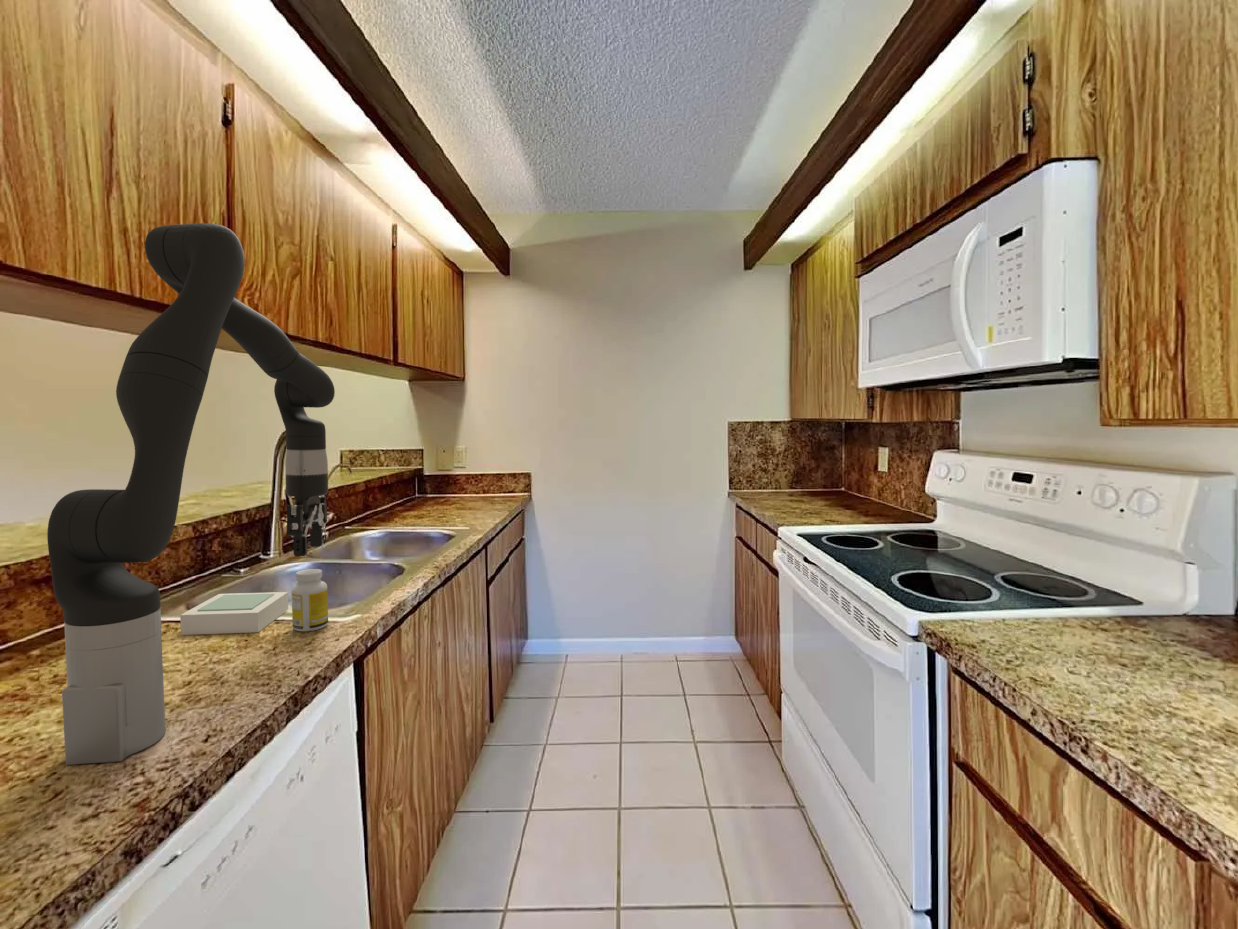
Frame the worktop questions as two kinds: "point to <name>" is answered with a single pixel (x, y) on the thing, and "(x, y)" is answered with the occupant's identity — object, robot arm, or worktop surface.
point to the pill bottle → (309, 601)
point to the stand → (234, 613)
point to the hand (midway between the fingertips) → (308, 550)
